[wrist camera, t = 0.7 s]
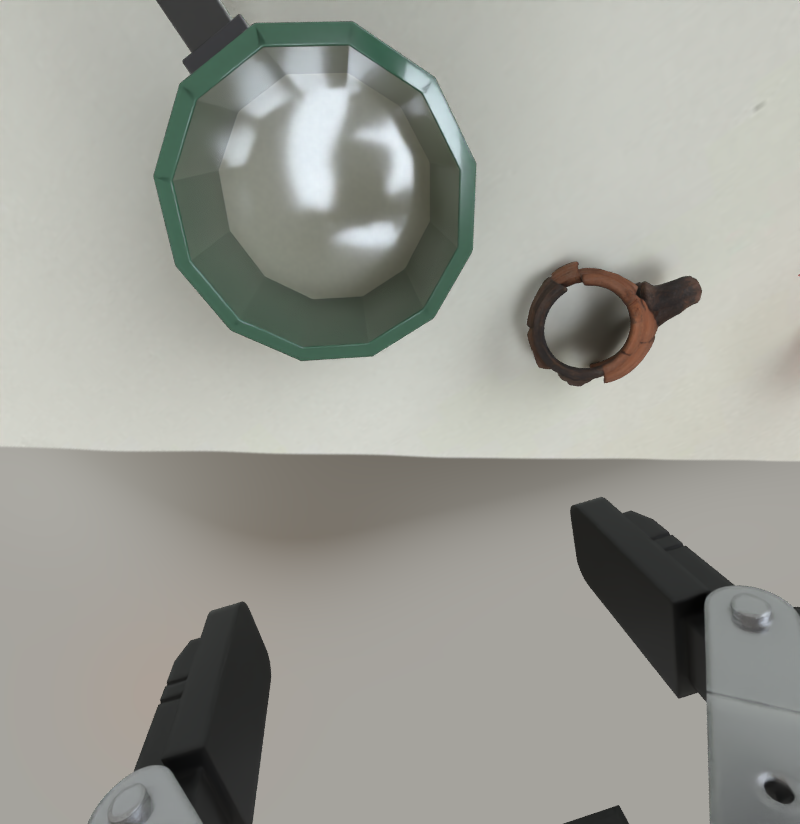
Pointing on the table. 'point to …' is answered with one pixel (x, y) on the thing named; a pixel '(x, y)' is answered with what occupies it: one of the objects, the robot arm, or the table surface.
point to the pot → (312, 183)
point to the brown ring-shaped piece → (644, 310)
